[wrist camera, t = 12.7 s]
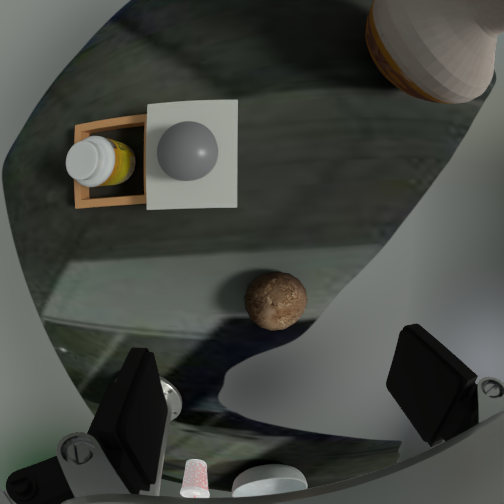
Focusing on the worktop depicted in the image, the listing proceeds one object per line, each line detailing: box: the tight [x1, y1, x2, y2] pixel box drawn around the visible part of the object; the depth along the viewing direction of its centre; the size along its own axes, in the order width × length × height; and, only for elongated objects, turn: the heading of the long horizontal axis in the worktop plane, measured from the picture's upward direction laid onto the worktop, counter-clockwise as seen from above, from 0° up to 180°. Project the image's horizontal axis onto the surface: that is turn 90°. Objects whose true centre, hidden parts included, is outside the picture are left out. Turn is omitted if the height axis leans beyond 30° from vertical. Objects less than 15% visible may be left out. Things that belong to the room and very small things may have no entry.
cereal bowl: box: [232, 464, 307, 497], centre depth 48 cm, size 17×17×7 cm
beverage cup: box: [180, 459, 210, 498], centre depth 42 cm, size 6×6×14 cm
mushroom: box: [244, 272, 307, 331], centre depth 37 cm, size 8×8×6 cm
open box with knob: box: [74, 100, 238, 210], centre depth 29 cm, size 12×21×8 cm, turn 90°
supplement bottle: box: [66, 136, 136, 187], centre depth 27 cm, size 6×6×10 cm
